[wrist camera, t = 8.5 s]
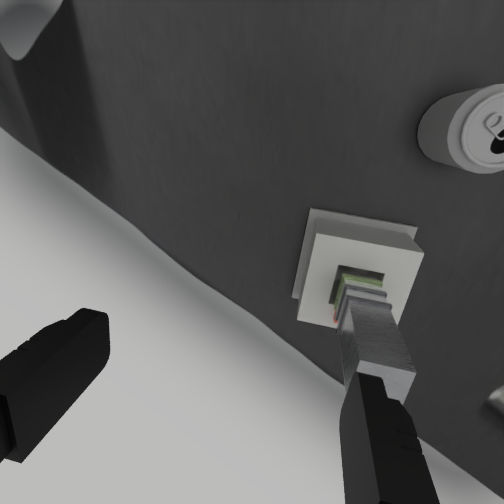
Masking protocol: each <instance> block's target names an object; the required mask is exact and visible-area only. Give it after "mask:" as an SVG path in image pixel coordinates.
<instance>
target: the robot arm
mask: <svg viewBox="0 0 504 504" xmlns="http://www.w3.org/2000/svg"><path fill="white" fill-rule="evenodd" d="M109 355H110V335H109V318H108V315H107V314H106V313H104V312H100V311H96V310H91V309H87V308H82V309H80V310H78V311H77V312H75V313H74V314H73V315H72V316H70V317H69V318H68V319H67V320H60V321H58V322H55V323H53V324H51V325H49V326H46V327H44V328H43V329H42V330H40V331H39V332H38V333H36V334H35V335H33V336H32V337H31V338H30V340H29V341H25V342H24V343H23V344H21V345H20V346H19V347H18V348H17V350H13V351H12V352H11V353H9V354H8V355H7V356H5V357H4V358H3V359H1V360H0V463H1V462H2V461H3V459H4V458H5V459H9V460H12V461H16V462H19V463H22V462H23V461H24V459H26V457H27V456H28V455H29V454H30V453H31V452H32V450H33V449H34V448H35V447H36V446H37V445H38V444H39V442H40V441H41V440H42V439H43V438H44V436H45V435H46V434H47V433H48V432H49V431H50V430H51V429H52V427H53V426H54V425H55V424H56V423H57V422H58V421H59V419H60V418H61V417H62V416H63V415H64V414H65V412H66V411H67V410H68V409H69V408H70V407H71V406H72V404H73V403H74V402H75V401H76V400H77V399H78V397H79V396H80V395H81V394H82V393H83V392H84V390H85V389H86V388H87V387H88V386H89V385H90V384H91V382H92V381H93V380H94V379H95V378H96V377H97V376H98V374H99V373H100V372H101V371H102V370H103V368H104V367H105V365H106V363H107V361H108V359H109ZM339 429H340V442H341V455H342V467H343V479H344V492H345V504H440V503H439V499H438V497H437V493H436V490H435V487H434V485H433V481H432V478H431V475H430V472H429V469H428V466H427V463H426V460H425V457H424V455H422V448H421V445H420V442H419V439H417V433H416V430H415V427H414V424H413V421H412V418H411V416H410V415H409V413H408V412H407V411H406V409H405V408H404V407H403V405H402V404H401V402H400V401H399V400H396V399H392V398H388V396H387V393H386V389H385V385H384V382H383V379H382V378H381V377H378V376H374V375H370V374H365V373H361V372H357V371H355V372H354V374H353V376H352V379H351V382H350V385H349V388H348V391H347V394H346V397H345V400H344V403H343V406H342V409H341V415H340V428H339Z"/></svg>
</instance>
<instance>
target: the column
mask: <svg viewBox="0 0 504 504" xmlns="http://www.w3.org/2000/svg"><path fill="white" fill-rule="evenodd" d="M382 286H383V283H382V281H380V280H378V278H377V277H374V276H369V275H364V274H359V273H354V272H349V271H344V270H343V272H342V275H341V279H340V283H339V286H338V290H337V294H336V297H335V302H334V310H336V315H335V321H338V326H337V329H336V334H339V338H340V347H341V355H342V364H343V373H344V382H345V390H346V394H347V391H348V388H349V385H350V382H351V379H352V376H353V374H354V372H355V371H357V372H361V373H365V374H370V375H374V376H378V377H381V378H382V379H383V382H384V385H385V389H386V393H387V396H388V398H392V399H396V400H399V401H400V402H401V404H402V405H403V403H404V401H405V398H406V396H407V394H408V391H409V389H410V387H411V384H412V382H413V380H414V378H415V375H416V371H415V368H414V366H413V363H412V361H411V358H410V356H409V354H408V351H407V349H406V346H405V344H404V341H403V339H402V337H401V334H400V332H399V329H398V327H397V324H396V322H395V319H394V317H393V315H392V312H391V310H392V304H390V303H388V302H387V300H386V297H387V293H386V292H384V291H383V290H382Z"/></svg>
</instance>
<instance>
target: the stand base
mask: <svg viewBox="0 0 504 504" xmlns="http://www.w3.org/2000/svg"><path fill="white" fill-rule="evenodd" d="M417 228H418V227H417V226H414V225H408V224H403V223H397V222H391V221H386V220H380V219H374V218H369V217H363V216H357V215H352V214H346V213H340V212H335V211H329V210H323V209H318V208H312V207H310V212H309V217H308V221H307V226H306V231H305V236H304V240H303V245H302V250H301V255H300V259H299V264H298V269H297V274H296V278H295V283H294V288H293V293H292V298H296V299H299V303H298V314H297V320H300V321H305V322H309V323H314V324H319V325H323V326H328V327H332V328H337V326H338V321H335V315H336V310H334V302H335V297H336V294H337V290H338V286H339V283H340V279H341V275H342V272H343V270H344V271H349V272H354V273H359V274H364V275H369V276H374V277H377V278H378V280H380V281H382V283H383V286H382V290H383V291H384V292H386V293H387V297H386V300H387V302H388V303H390V304H392V310H391V312H392V315H393V317H394V319H395V322H396V324H397V325H398V323H399V320H400V317H401V314H402V312H403V309H404V306H405V304H406V301H407V298H408V296H409V293H410V290H411V288H412V285H413V282H414V280H415V277H416V274H417V272H418V269H419V266H420V264H421V261H422V258H423V256H424V252H423V251H422V250H421V249H420V248H419V246H418V245H417V244H416V243H415V242H414V241H413V239H414V237H415V234H416V231H417Z"/></svg>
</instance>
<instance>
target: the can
mask: <svg viewBox="0 0 504 504" xmlns="http://www.w3.org/2000/svg"><path fill="white" fill-rule="evenodd" d="M417 138H418V143H419V147H420V148H421V150H422V152H423V153H424V155H426V156H427V157H428V158H430V159H431V160H433V161H437V162H440V163H444V164H447V165H451V166H454V167H457V168H461V169H464V170H468V171H471V172H475V173H494V172H498V171H501V170H504V84H495V85H491V86H487V87H482V88H478V89H474V90H469V91H465V92H461V93H457V94H452V95H450V96H447V97H444V98H442V99H440V100H439V101H437V102H436V103H434V104H433V105H432V106H431V107H430V108H429V109H428V110H427V111H426V113H425V114H424V115H423V117H422V119H421V122H420V124H419V126H418V134H417Z"/></svg>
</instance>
